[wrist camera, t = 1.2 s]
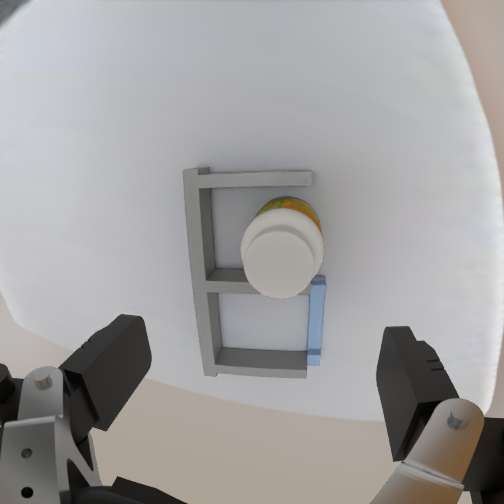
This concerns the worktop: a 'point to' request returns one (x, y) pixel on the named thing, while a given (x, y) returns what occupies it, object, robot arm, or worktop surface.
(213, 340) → the grey two-tier shelf
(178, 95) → the worktop surface
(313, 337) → the light blue flat bar
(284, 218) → the supplement bottle
